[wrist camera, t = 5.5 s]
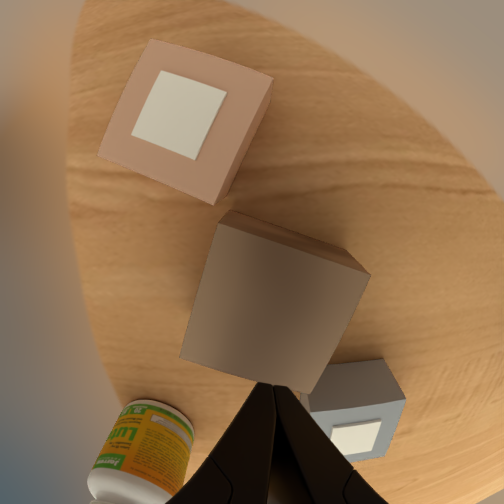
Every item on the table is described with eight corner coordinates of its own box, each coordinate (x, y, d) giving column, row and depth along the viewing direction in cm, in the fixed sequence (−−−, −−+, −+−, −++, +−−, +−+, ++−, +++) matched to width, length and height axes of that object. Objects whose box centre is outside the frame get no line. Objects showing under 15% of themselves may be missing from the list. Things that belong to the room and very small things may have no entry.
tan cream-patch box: (270, 102, 13) (273, 75, 9) (226, 196, 14) (212, 206, 10) (177, 68, 13) (148, 36, 9) (136, 158, 14) (94, 155, 10)
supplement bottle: (146, 384, 17) (88, 506, 8) (211, 429, 18) (188, 551, 9) (111, 416, 18) (60, 514, 9) (169, 454, 19) (139, 555, 10)
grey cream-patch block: (382, 357, 16) (407, 401, 12) (369, 414, 18) (385, 458, 14) (301, 365, 17) (310, 415, 12) (298, 422, 18) (303, 470, 14)
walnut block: (345, 249, 15) (371, 275, 11) (301, 348, 16) (310, 394, 12) (230, 209, 14) (218, 223, 11) (196, 316, 16) (179, 357, 12)
